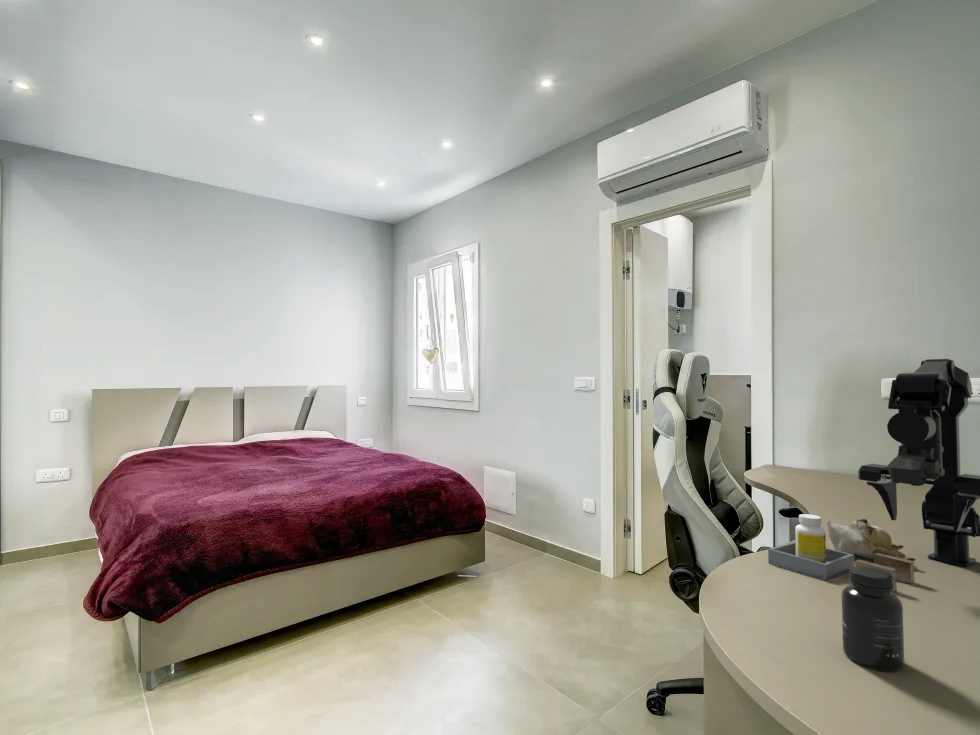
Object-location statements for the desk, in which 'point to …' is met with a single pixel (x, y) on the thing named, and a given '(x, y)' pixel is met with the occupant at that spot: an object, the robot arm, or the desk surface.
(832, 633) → the desk surface
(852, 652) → the supplement bottle
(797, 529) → the supplement bottle
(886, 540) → the ceramic sculpture
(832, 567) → the tray
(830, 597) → the desk surface
